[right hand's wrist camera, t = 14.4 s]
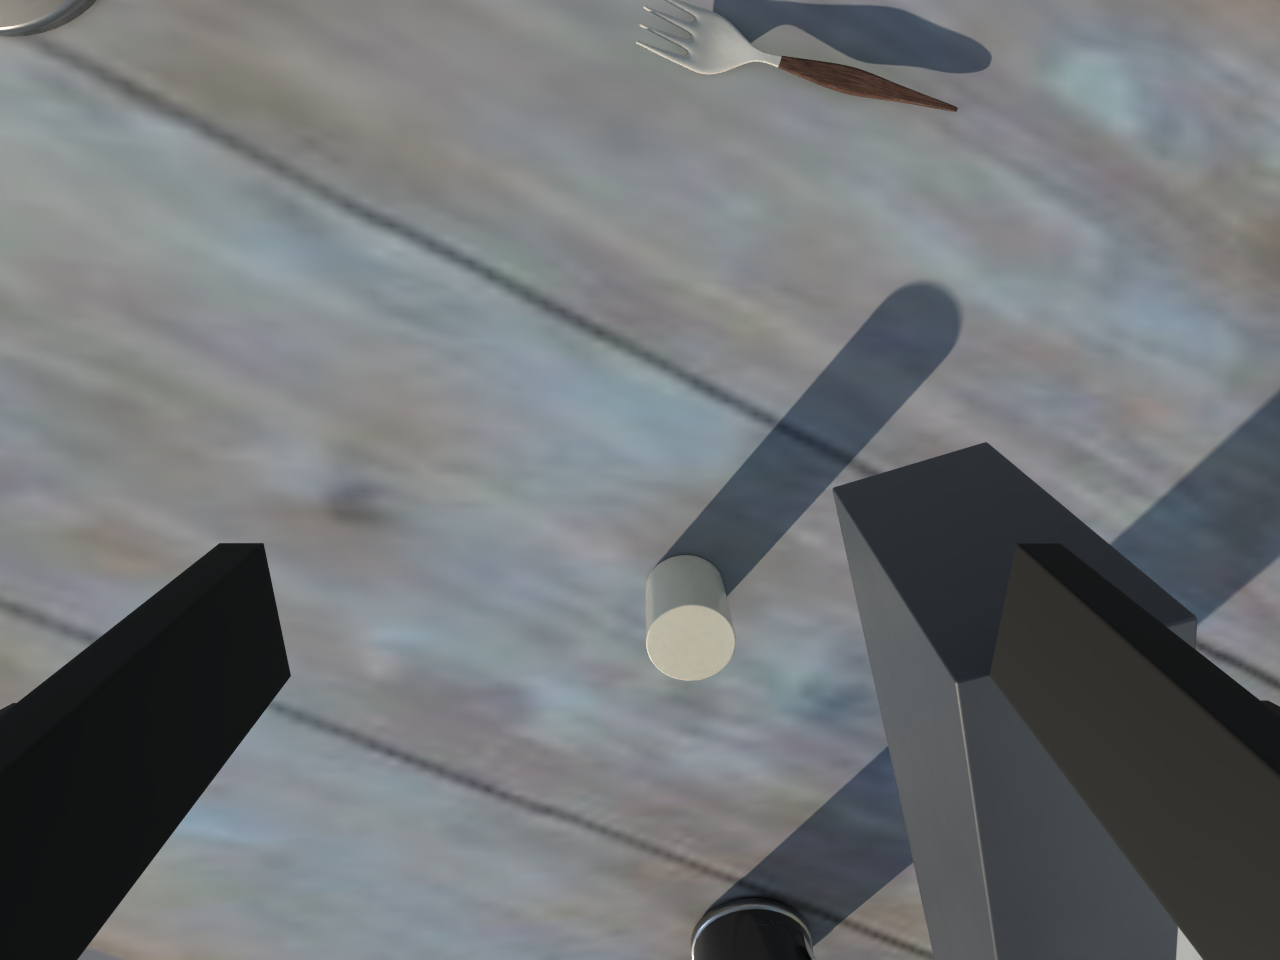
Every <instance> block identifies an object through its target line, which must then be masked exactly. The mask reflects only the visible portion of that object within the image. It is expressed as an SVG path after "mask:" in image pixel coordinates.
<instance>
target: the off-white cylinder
mask: <svg viewBox="0 0 1280 960" xmlns="http://www.w3.org/2000/svg"><path fill="white" fill-rule="evenodd" d="M645 607H646V647H647V652H648V655H649V657H650V659H651V661H652V662H653V664H654V665H655V666H656V667H657V668H658V669H659V670H660V671H662V672H663V673H665V674H666V675H668V676H671V677H673V678H676V679H681V680H699V679H703V678H707V677H709V676H712V675H714V674H715V673H717V672H719V671H720V670H721V669H722V668H724V667H725V666H726V664H727V663H728V662H729V660H730V659H731V657H732V655H733V653H734V650H735V645H736V637H735V631H734V627H733V623H732V618H731V614H730V610H729V605H728V601H727V597H726V592H725V588H724V584H723V580H722V577H721V575H720V573H719V572H718V570H717V569H716V568H715V567H714V566H713V565H712V564H711V563H710V562H708V561H706V560H705V559H702V558H700V557H697V556H692V555H679V556H674V557H671V558H668V559H666V560H664V561H663V562H661V563H660V564H658V565H657V566H656V567H655V568H654V569H653V570H652V572H651V573H650V575H649V577H648V579H647V582H646V586H645Z"/></svg>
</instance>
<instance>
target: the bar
mask: <svg viewBox="0 0 1280 960" xmlns="http://www.w3.org/2000/svg"><path fill="white" fill-rule="evenodd" d="M833 494H834V499H835V504H836V508H837V513H838V517H839V522H840V527H841V531H842V536H843V540H844V545H845V550H846V554H847V559H848V563H849V568H850V573H851V577H852V582H853V586H854V591H855V596H856V600H857V605H858V609H859V614H860V619H861V623H862V628H863V632H864V637H865V642H866V646H867V651H868V655H869V660H870V665H871V669H872V674H873V678H874V683H875V688H876V692H877V697H878V701H879V706H880V711H881V715H882V720H883V724H884V729H885V734H886V738H887V743H888V748H889V752H890V757H891V761H892V766H893V771H894V775H895V780H896V784H897V789H898V794H899V798H900V803H901V807H902V812H903V817H904V821H905V826H906V830H907V835H908V840H909V844H910V849H911V853H912V858H913V863H914V867H915V872H916V876H917V881H918V886H919V890H920V895H921V899H922V904H923V909H924V913H925V918H926V922H927V927H928V932H929V936H930V941H931V945H932V950H933V955H934V959H935V960H1176V952H1177V936H1178V926H1177V925H1176V923H1175V922H1174V921H1173V919H1172V918H1171V917H1170V915H1169V914H1168V913H1167V911H1166V910H1165V909H1164V907H1163V906H1162V905H1161V903H1160V902H1159V901H1158V899H1157V898H1156V897H1155V895H1154V894H1153V893H1152V891H1151V890H1150V889H1149V887H1148V886H1147V885H1146V883H1145V882H1144V881H1143V879H1142V878H1141V877H1140V875H1139V874H1138V873H1137V871H1136V870H1135V869H1134V867H1133V866H1132V865H1131V863H1130V862H1129V861H1128V859H1127V858H1126V857H1125V855H1124V854H1123V853H1122V851H1121V850H1120V849H1119V847H1118V846H1117V845H1116V843H1115V842H1114V841H1113V839H1112V838H1111V837H1110V835H1109V834H1108V833H1107V832H1106V830H1105V829H1104V828H1103V826H1102V825H1101V824H1100V822H1099V821H1098V820H1097V818H1096V817H1095V816H1094V814H1093V813H1092V812H1091V810H1090V809H1089V808H1088V806H1087V805H1086V804H1085V802H1084V801H1083V800H1082V798H1081V797H1080V796H1079V794H1078V793H1077V792H1076V790H1075V789H1074V788H1073V786H1072V785H1071V784H1070V782H1069V781H1068V780H1067V778H1066V777H1065V776H1064V774H1063V773H1062V772H1061V770H1060V769H1059V768H1058V766H1057V765H1056V764H1055V762H1054V761H1053V760H1052V758H1051V757H1050V756H1049V754H1048V753H1047V752H1046V750H1045V749H1044V748H1043V746H1042V745H1041V744H1040V743H1039V741H1038V740H1037V739H1036V737H1035V736H1034V735H1033V733H1032V732H1031V731H1030V729H1029V728H1028V727H1027V725H1026V724H1025V723H1024V721H1023V720H1022V719H1021V717H1020V716H1019V715H1018V713H1017V712H1016V711H1015V709H1014V708H1013V707H1012V705H1011V704H1010V703H1009V701H1008V700H1007V699H1006V697H1005V696H1004V695H1003V693H1002V692H1001V691H1000V689H999V688H998V687H997V685H996V684H995V683H994V681H993V680H992V679H991V677H990V676H989V675H990V670H991V666H992V661H993V656H994V651H995V646H996V641H997V636H998V632H999V627H1000V622H1001V617H1002V612H1003V607H1004V602H1005V598H1006V593H1007V588H1008V583H1009V578H1010V573H1011V568H1012V564H1013V559H1014V554H1015V549H1016V544H1017V543H1061V544H1062V545H1063V546H1065V547H1066V548H1067V549H1068V550H1070V551H1071V552H1072V553H1073V554H1075V555H1076V556H1077V557H1079V558H1080V559H1081V560H1082V561H1084V562H1085V563H1086V564H1087V565H1089V566H1090V567H1091V568H1092V569H1094V570H1095V571H1096V572H1098V573H1099V574H1100V575H1101V576H1103V577H1104V578H1105V579H1106V580H1108V581H1109V582H1110V583H1111V584H1113V585H1114V586H1115V587H1117V588H1118V589H1119V590H1120V591H1122V592H1123V593H1124V594H1125V595H1127V596H1128V597H1129V598H1131V599H1132V600H1133V601H1134V602H1136V603H1137V604H1138V605H1139V606H1141V607H1142V608H1143V609H1144V610H1146V611H1147V612H1148V613H1150V614H1151V615H1152V616H1153V617H1155V618H1156V619H1157V620H1158V621H1160V622H1161V623H1162V624H1164V625H1165V626H1166V627H1167V628H1169V629H1170V630H1171V631H1172V632H1174V633H1175V634H1176V635H1177V636H1179V637H1180V638H1181V639H1183V640H1184V641H1185V642H1186V643H1188V644H1189V645H1190V646H1191V647H1193V648H1194V649H1195V647H1196V631H1197V618H1196V617H1195V615H1193V614H1192V613H1191V612H1190V611H1189V610H1187V609H1186V608H1185V607H1184V606H1183V605H1181V604H1180V603H1179V602H1178V601H1177V600H1175V599H1174V598H1173V597H1172V596H1171V595H1169V594H1168V593H1167V592H1166V591H1165V590H1163V589H1162V588H1161V587H1160V586H1159V585H1157V584H1156V583H1155V582H1154V581H1153V580H1151V579H1150V578H1149V577H1148V576H1147V575H1145V574H1144V573H1143V572H1142V571H1141V570H1139V569H1138V568H1137V567H1136V566H1135V565H1133V564H1132V563H1131V562H1130V561H1129V560H1127V559H1126V558H1125V557H1124V556H1123V555H1121V554H1120V553H1119V552H1118V551H1117V550H1115V549H1114V548H1113V547H1112V546H1111V545H1109V544H1108V543H1107V542H1106V541H1105V540H1103V539H1102V538H1101V537H1100V536H1099V535H1097V534H1096V533H1095V532H1094V531H1093V530H1091V529H1090V528H1089V527H1088V526H1087V525H1085V524H1084V523H1083V522H1082V521H1081V520H1079V519H1078V518H1077V517H1076V516H1075V515H1073V514H1072V513H1071V512H1070V511H1069V510H1067V509H1066V508H1065V507H1064V506H1063V505H1061V504H1060V503H1059V502H1058V501H1057V500H1055V499H1054V498H1053V497H1052V496H1051V495H1049V494H1048V493H1047V492H1046V491H1045V490H1043V489H1042V488H1041V487H1040V486H1039V485H1037V484H1036V483H1035V482H1034V481H1033V480H1031V479H1030V478H1029V477H1028V476H1027V475H1025V474H1024V473H1023V472H1022V471H1021V470H1019V469H1018V468H1017V467H1016V466H1015V465H1013V464H1012V463H1011V462H1010V461H1009V460H1007V459H1006V458H1005V457H1004V456H1003V455H1001V454H1000V453H999V452H998V451H997V450H995V449H994V448H993V447H992V446H991V445H989V444H988V443H981V444H978V445H975V446H971V447H968V448H965V449H961V450H958V451H955V452H951V453H948V454H945V455H941V456H938V457H934V458H931V459H928V460H924V461H921V462H918V463H914V464H911V465H908V466H904V467H901V468H898V469H894V470H891V471H888V472H884V473H881V474H878V475H874V476H871V477H868V478H864V479H861V480H857V481H854V482H851V483H847V484H844V485H841V486H837V487H834V488H833Z"/></svg>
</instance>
